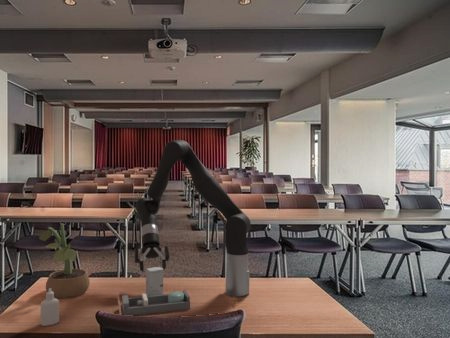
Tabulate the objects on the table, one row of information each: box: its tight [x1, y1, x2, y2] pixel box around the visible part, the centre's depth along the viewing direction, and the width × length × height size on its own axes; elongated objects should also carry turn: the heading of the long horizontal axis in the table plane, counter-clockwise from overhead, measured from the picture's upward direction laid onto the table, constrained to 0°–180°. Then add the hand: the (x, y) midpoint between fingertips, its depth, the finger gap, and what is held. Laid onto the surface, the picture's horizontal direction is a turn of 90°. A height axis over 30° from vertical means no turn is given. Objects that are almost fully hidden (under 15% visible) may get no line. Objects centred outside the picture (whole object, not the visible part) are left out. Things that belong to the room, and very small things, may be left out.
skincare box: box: [145, 266, 165, 296], centre depth 154 cm, size 6×4×12 cm
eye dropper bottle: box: [40, 288, 60, 327], centre depth 130 cm, size 4×6×12 cm
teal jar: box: [167, 291, 184, 303], centre depth 146 cm, size 6×6×4 cm
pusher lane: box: [121, 289, 191, 316], centre depth 144 cm, size 24×10×5 cm, turn 108°
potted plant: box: [38, 223, 91, 299], centre depth 156 cm, size 22×18×30 cm
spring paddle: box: [137, 292, 148, 306], centre depth 142 cm, size 3×7×4 cm, turn 18°
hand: (153, 270), depth 158 cm, fingers open, 8 cm apart
